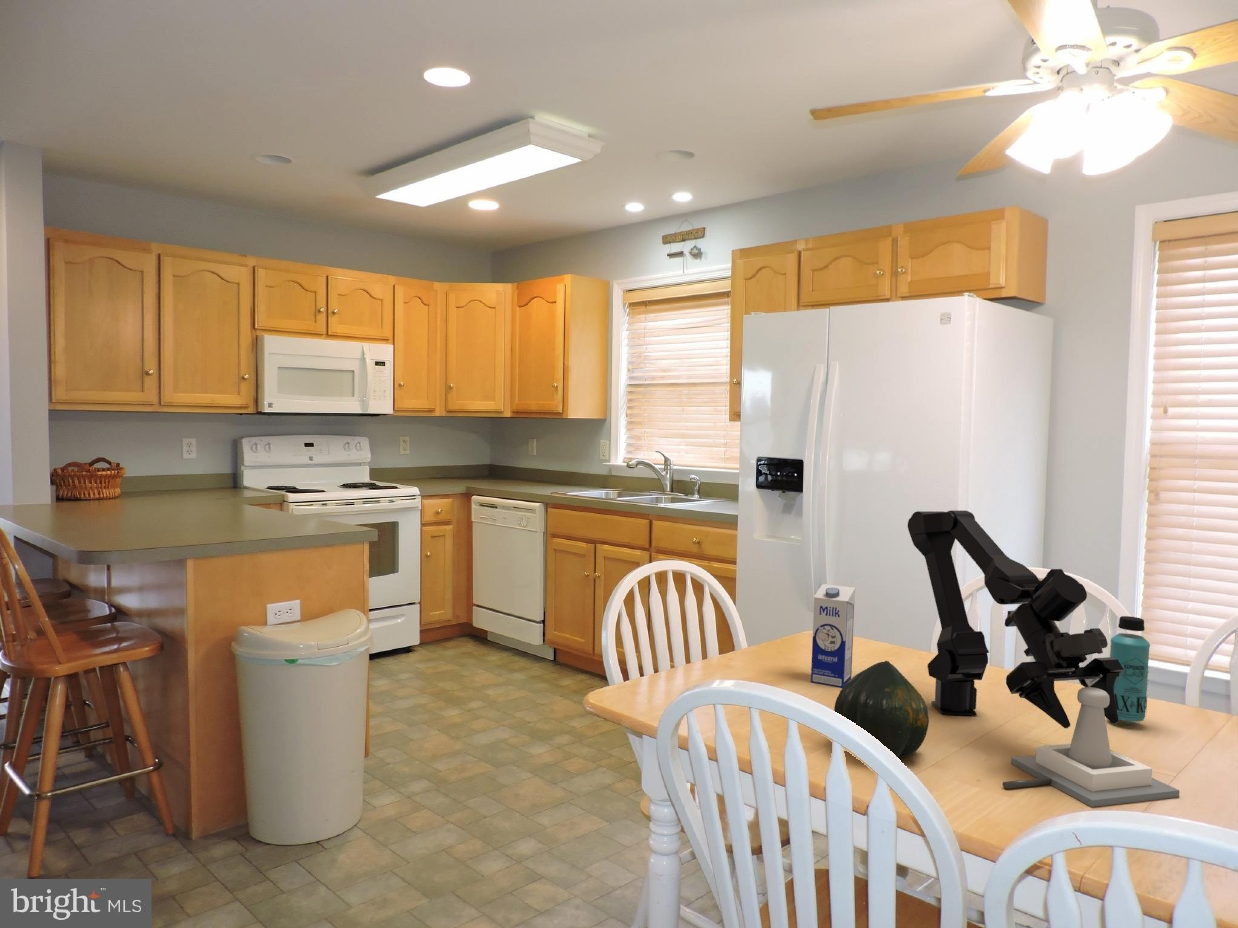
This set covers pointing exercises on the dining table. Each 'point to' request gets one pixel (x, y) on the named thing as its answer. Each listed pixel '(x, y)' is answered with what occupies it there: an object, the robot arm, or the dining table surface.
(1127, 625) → the beverage bottle
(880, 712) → the squash
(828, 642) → the milk carton
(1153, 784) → the dock
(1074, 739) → the salt shaker
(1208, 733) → the dining table surface
